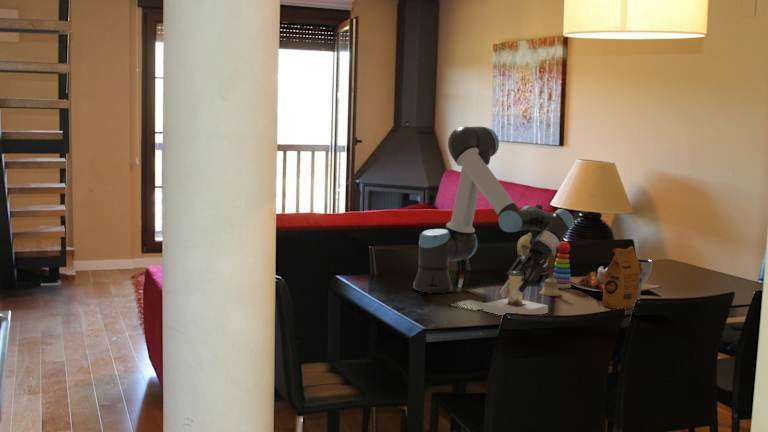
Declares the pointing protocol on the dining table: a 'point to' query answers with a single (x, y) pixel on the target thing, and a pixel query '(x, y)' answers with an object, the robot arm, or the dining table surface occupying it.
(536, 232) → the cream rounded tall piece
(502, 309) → the housing
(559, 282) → the stacking toy
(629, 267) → the coffee package
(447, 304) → the dining table surface
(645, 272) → the wine glass
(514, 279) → the beige cylinder
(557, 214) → the robot arm
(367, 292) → the dining table surface
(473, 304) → the mat
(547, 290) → the hand bell
